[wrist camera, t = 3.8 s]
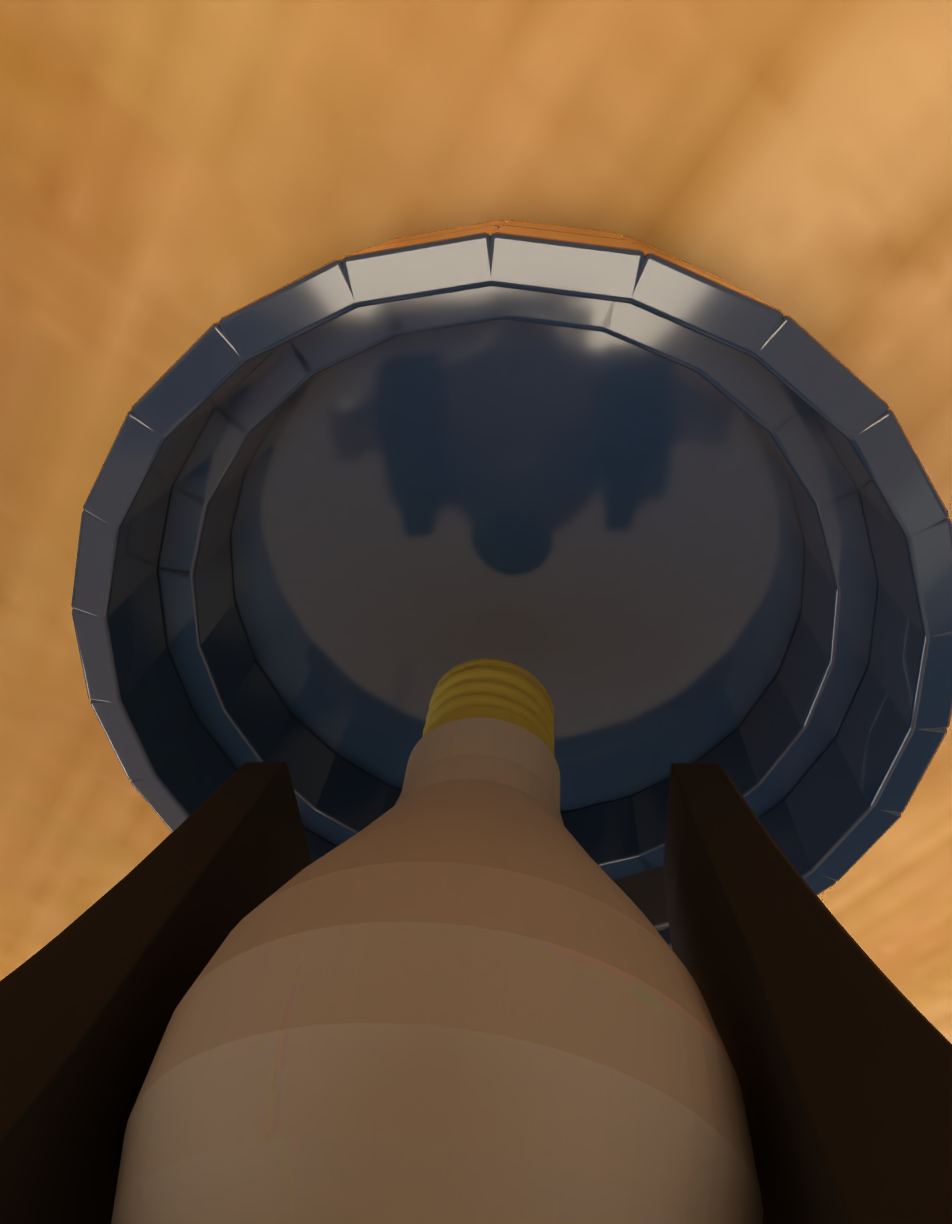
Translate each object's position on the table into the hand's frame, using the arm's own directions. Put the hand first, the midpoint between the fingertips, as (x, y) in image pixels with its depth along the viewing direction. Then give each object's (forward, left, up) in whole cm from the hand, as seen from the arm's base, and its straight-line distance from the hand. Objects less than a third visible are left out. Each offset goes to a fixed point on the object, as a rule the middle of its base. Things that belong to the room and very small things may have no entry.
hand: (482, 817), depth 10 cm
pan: (0, 0, -6) cm, 6 cm away
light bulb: (0, 0, -3) cm, 3 cm away
